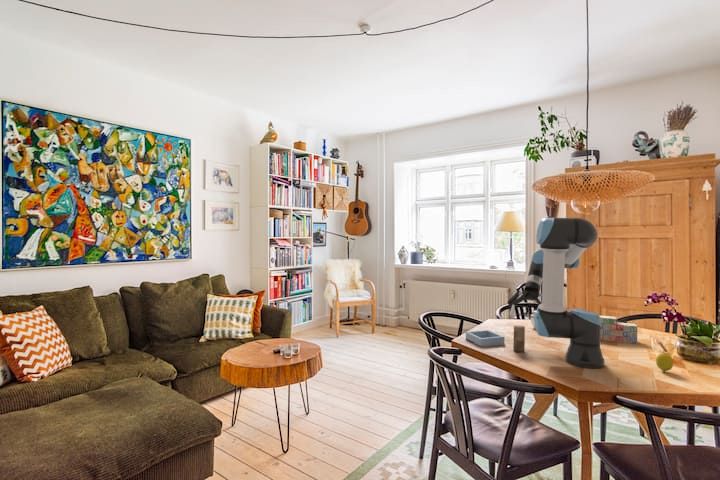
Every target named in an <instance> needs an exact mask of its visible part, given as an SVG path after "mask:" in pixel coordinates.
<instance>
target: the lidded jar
mask: <svg viewBox="0 0 720 480" xmlns="http://www.w3.org/2000/svg"><path fill="white" fill-rule="evenodd" d="M529 316H530V322H531V326H532V327H534V329H535V330H536V328H535V323H534V313H531V314H530V315H529Z"/></svg>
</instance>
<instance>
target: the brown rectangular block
mask: <svg viewBox="0 0 720 480" xmlns="http://www.w3.org/2000/svg"><path fill="white" fill-rule="evenodd" d="M525 329H526V327H525V326H524V325H518V324H517V325H513V344H512V345H513V352H516V353H520V354H521V353H525V349H526V348H525V344H526V343H525V339H526V337H525V334H526V331H525Z"/></svg>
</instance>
